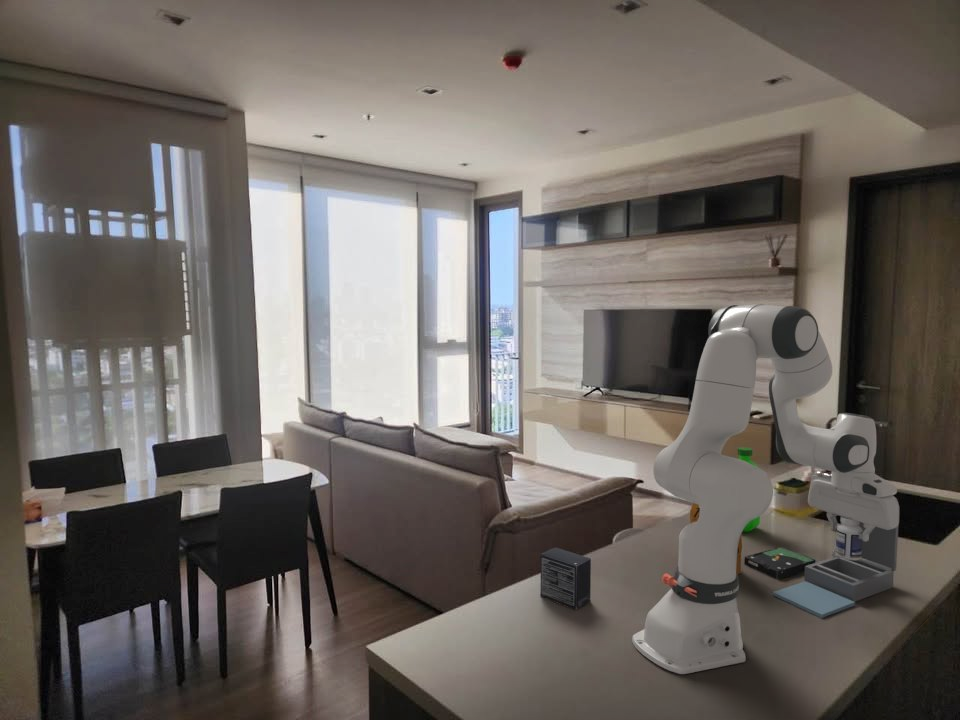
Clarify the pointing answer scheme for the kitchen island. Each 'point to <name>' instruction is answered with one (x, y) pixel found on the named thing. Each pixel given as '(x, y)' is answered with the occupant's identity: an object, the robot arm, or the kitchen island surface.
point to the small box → (565, 577)
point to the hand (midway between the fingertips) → (849, 535)
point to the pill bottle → (848, 539)
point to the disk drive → (778, 562)
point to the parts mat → (814, 599)
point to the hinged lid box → (859, 568)
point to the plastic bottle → (745, 455)
